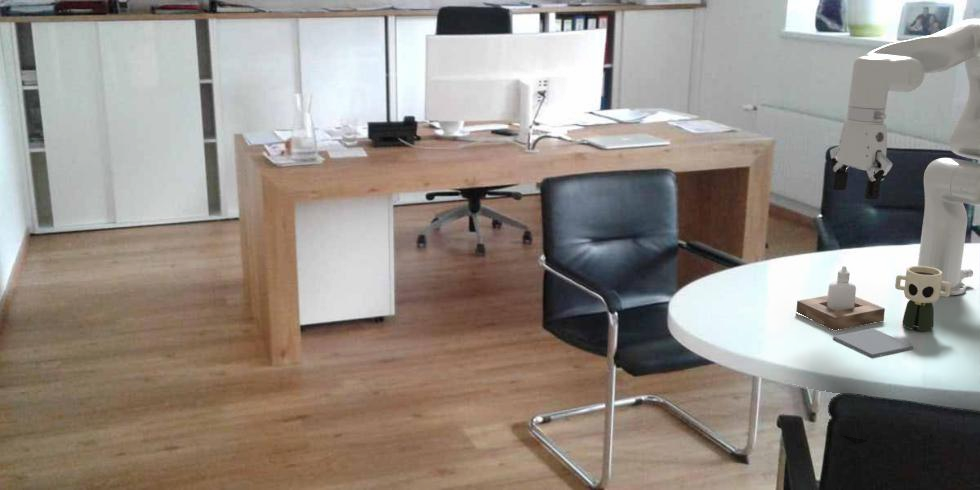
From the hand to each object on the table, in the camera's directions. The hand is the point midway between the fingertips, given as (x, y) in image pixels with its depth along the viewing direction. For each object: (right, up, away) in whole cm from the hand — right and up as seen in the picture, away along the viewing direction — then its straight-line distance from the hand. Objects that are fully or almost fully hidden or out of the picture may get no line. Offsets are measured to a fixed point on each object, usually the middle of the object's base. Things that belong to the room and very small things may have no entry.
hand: (855, 194), depth 220 cm
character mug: (+13, -29, -1) cm, 32 cm away
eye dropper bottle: (-2, -27, +5) cm, 28 cm away
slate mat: (0, -32, -10) cm, 33 cm away
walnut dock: (-2, -27, +5) cm, 28 cm away
